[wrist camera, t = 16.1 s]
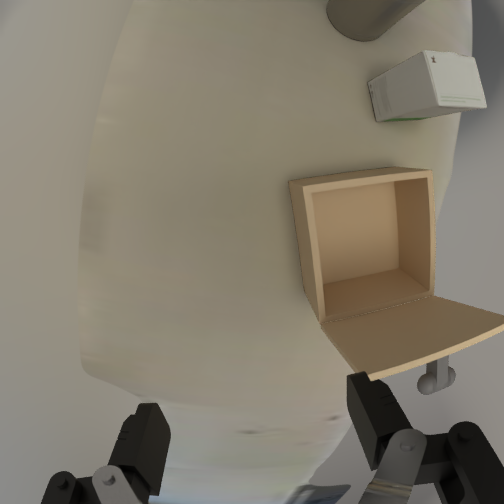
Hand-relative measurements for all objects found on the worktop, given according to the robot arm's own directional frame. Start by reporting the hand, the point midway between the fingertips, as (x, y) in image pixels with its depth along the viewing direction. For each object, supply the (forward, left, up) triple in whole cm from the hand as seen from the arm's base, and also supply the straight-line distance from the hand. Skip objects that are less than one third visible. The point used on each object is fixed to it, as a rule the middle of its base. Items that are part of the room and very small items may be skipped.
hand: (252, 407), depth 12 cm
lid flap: (+8, +15, -14) cm, 22 cm away
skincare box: (-16, +25, -32) cm, 44 cm away
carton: (+2, +15, -32) cm, 35 cm away
